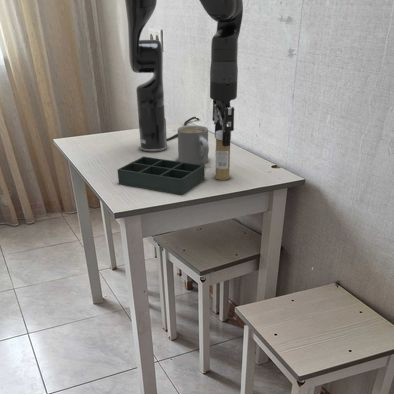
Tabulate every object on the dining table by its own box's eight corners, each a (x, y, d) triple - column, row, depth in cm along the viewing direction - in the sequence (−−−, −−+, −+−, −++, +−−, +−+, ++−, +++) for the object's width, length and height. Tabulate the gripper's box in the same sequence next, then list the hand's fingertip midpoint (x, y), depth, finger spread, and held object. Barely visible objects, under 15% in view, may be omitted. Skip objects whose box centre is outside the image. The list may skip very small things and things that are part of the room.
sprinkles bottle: (231, 176, 148) (233, 130, 140) (226, 181, 145) (227, 133, 136) (218, 174, 150) (219, 128, 141) (212, 179, 146) (213, 132, 138)
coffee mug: (174, 158, 164) (173, 126, 158) (201, 155, 167) (201, 124, 160) (187, 169, 154) (187, 136, 148) (216, 166, 157) (216, 133, 151)
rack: (144, 170, 154) (143, 156, 151) (204, 179, 146) (204, 165, 143) (118, 184, 144) (117, 169, 141) (182, 195, 136) (181, 179, 133)
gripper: (204, 76, 136) (204, 137, 145) (217, 84, 124) (216, 149, 134) (229, 75, 137) (228, 135, 147) (244, 82, 126) (241, 147, 136)
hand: (222, 142), depth 140 cm, fingers open, 8 cm apart
